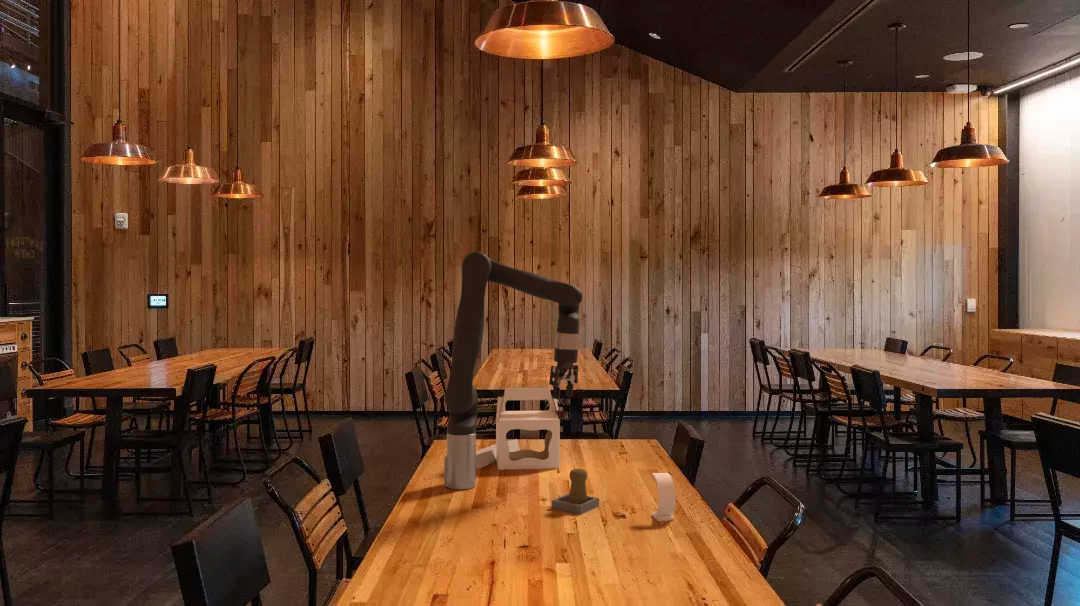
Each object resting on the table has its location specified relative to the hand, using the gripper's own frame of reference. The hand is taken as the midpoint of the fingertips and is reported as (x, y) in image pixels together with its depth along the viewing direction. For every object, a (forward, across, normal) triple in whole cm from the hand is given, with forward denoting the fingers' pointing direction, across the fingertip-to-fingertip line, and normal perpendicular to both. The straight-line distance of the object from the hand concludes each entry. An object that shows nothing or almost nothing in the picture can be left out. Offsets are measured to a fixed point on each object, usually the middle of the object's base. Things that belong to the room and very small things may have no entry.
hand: (562, 397), depth 237 cm
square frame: (+29, +16, +16) cm, 37 cm away
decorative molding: (+30, -21, -42) cm, 56 cm away
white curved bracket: (+27, +12, +42) cm, 51 cm away
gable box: (+29, -20, -24) cm, 42 cm away
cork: (+29, +16, +17) cm, 37 cm away
